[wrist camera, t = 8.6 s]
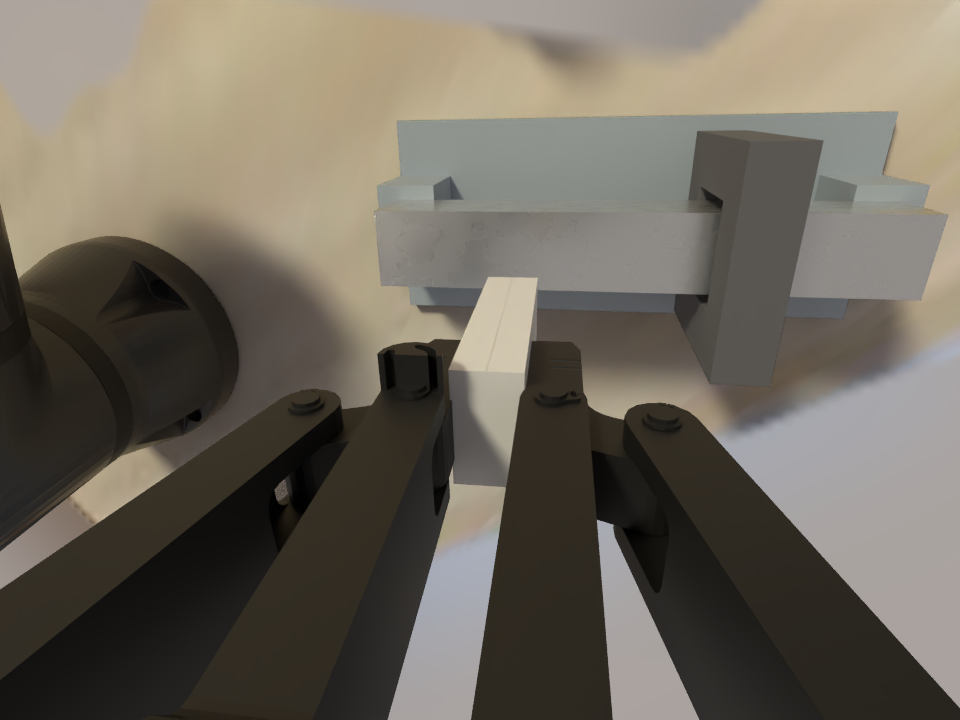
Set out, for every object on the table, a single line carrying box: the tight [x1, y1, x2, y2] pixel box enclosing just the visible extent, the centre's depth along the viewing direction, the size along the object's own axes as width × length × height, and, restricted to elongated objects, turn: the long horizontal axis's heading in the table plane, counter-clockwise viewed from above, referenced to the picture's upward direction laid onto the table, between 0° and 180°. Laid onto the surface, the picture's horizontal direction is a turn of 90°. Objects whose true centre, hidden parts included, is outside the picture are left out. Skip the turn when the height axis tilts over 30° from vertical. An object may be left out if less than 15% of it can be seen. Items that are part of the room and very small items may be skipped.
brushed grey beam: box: [374, 199, 948, 300], centre depth 26 cm, size 24×4×4 cm, turn 91°
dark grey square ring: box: [674, 130, 824, 387], centre depth 26 cm, size 2×10×10 cm, turn 1°
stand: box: [377, 112, 930, 319], centre depth 30 cm, size 26×11×5 cm, turn 91°
